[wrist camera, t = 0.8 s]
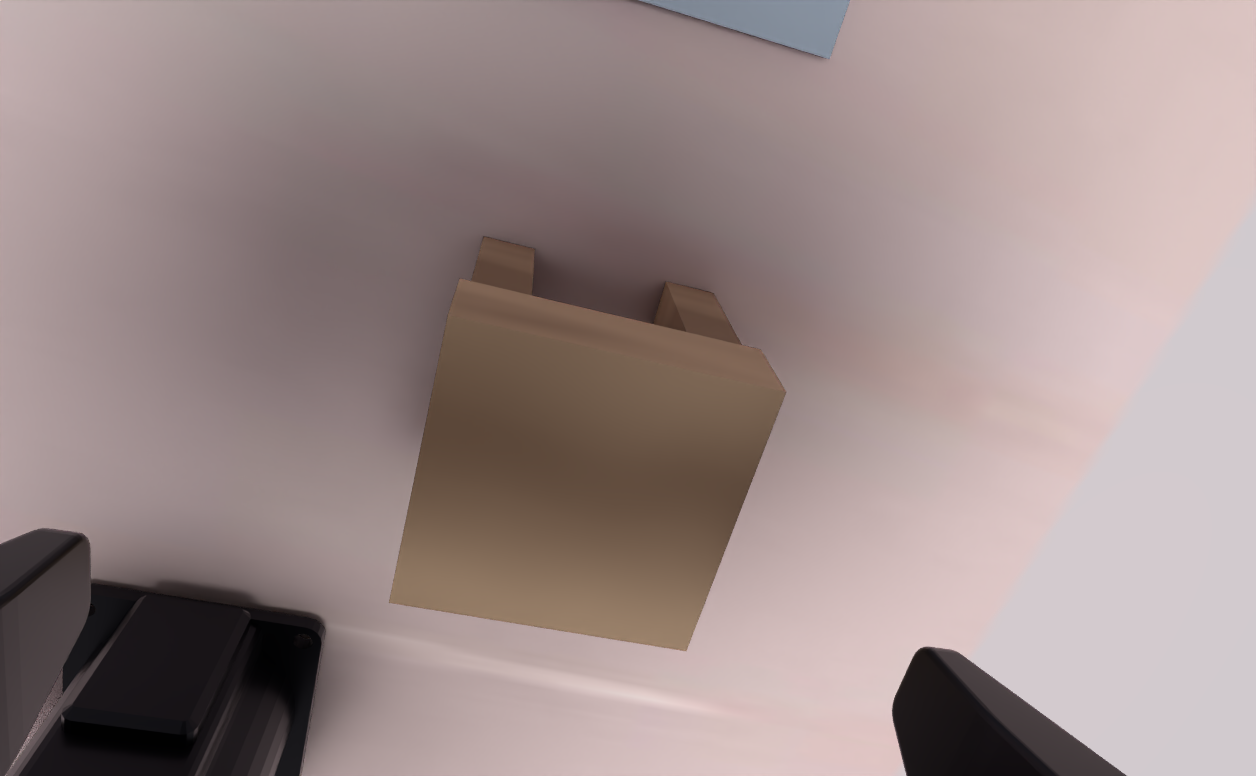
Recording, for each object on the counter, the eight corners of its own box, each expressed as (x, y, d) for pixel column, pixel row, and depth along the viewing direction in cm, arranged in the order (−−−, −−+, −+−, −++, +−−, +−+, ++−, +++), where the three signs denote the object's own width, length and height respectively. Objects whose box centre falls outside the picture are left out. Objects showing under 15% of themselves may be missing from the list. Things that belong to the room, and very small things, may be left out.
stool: (653, 494, 23) (686, 651, 17) (429, 451, 22) (388, 602, 16) (723, 287, 20) (786, 391, 15) (476, 225, 19) (448, 315, 14)
